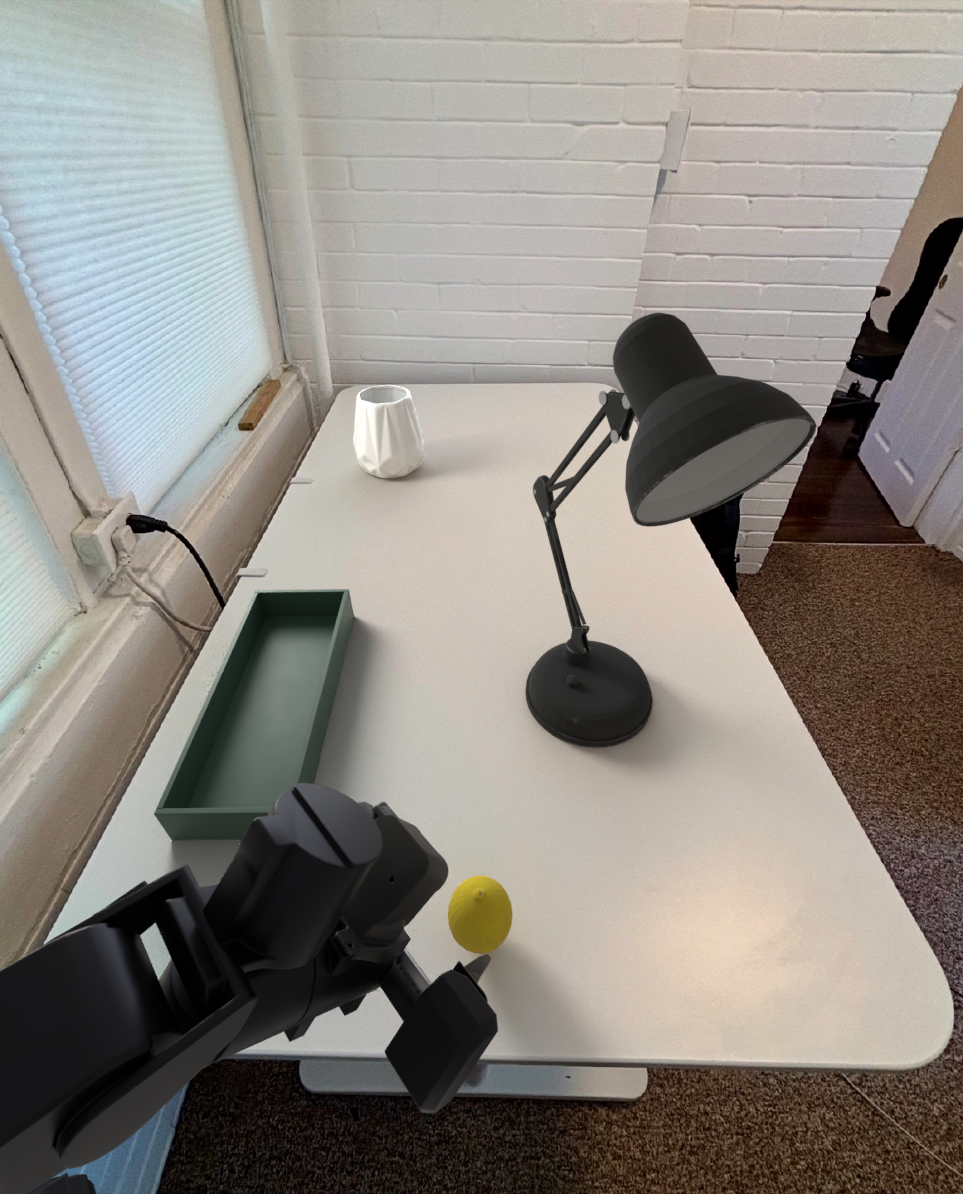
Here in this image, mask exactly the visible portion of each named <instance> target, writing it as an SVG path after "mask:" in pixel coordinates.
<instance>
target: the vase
mask: <svg viewBox="0 0 963 1194" xmlns="http://www.w3.org/2000/svg"><path fill="white" fill-rule="evenodd" d="M355 396H356V397H355V408H354V409H355V411H354V423H353V436H352V437H353V439H352V444H353V448H354V452H355V456H356V459H357V464H358V465H359V467H360V468H361V470H363V471H364V472H365V473H367V474H369V475H372V476H375V477H377V478H380V479H394V478H396V479H397V478H403V477H406V476H408V475H410V474H411V473H412V472H414V471H416V470H417V469H418V468H420V467H421V465H422V463H423V461H424V458H425V437H424V432H423V428H422V425H421V422H420V419H419V416H418V413H417V409H416V406H415V403H414V400H413V397H412V394H411V391H410V390H409V389H408V388H405V387H403V386H399V385H395V384H382V385H381V384H379V385H373V386H370V387H366V388H365V389H362V390H361V391H358V393H357V394H356V395H355Z"/></svg>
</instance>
